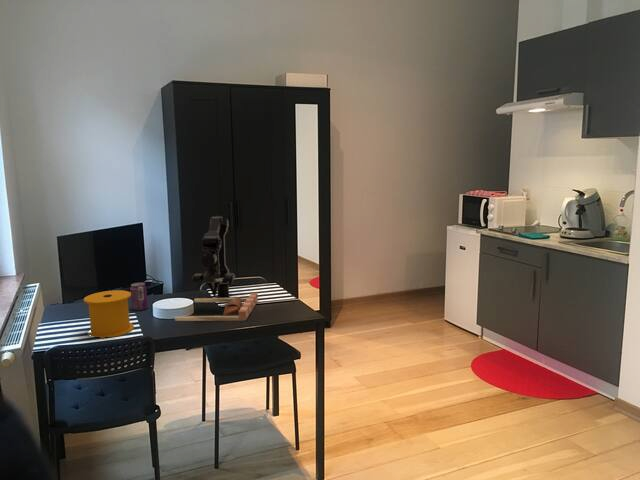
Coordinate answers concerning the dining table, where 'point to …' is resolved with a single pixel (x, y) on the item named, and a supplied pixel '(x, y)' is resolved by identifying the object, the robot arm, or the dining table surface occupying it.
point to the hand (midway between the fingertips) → (214, 295)
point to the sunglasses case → (233, 306)
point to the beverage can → (138, 296)
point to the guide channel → (242, 316)
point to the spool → (109, 313)
